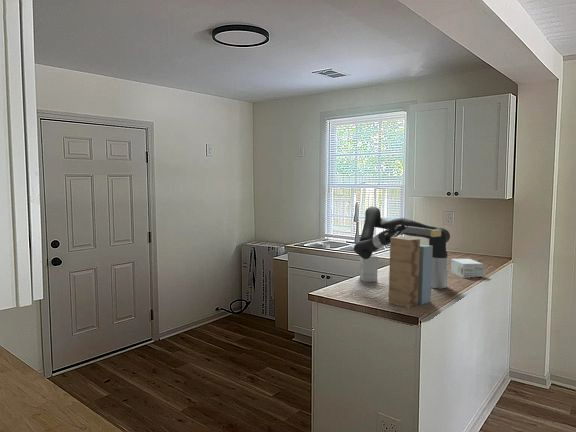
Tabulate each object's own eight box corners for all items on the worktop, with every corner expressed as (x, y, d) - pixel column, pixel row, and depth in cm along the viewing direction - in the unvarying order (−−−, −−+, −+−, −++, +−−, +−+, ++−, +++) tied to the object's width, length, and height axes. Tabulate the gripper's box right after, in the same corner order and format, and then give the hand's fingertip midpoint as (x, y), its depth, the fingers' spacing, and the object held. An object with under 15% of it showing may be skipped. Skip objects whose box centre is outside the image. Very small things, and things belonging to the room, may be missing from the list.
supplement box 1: (374, 278, 265) (374, 254, 264) (377, 281, 256) (378, 256, 255) (359, 278, 264) (359, 254, 263) (362, 281, 255) (362, 256, 254)
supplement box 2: (450, 272, 285) (450, 258, 284) (469, 272, 286) (470, 258, 285) (462, 278, 268) (463, 263, 267) (483, 278, 269) (483, 263, 268)
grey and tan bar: (401, 230, 226) (401, 224, 225) (441, 236, 207) (441, 229, 206) (393, 231, 222) (393, 225, 222) (433, 237, 203) (433, 230, 203)
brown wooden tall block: (397, 299, 217) (399, 236, 214) (417, 305, 207) (420, 239, 205) (388, 302, 213) (390, 237, 210) (408, 307, 203) (410, 240, 201)
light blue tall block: (410, 296, 223) (412, 242, 221) (430, 302, 213) (432, 245, 211) (401, 298, 219) (403, 243, 216) (421, 304, 209) (423, 247, 207)
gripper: (394, 244, 235) (418, 232, 222) (376, 246, 226) (400, 233, 214) (389, 232, 237) (412, 218, 224) (371, 233, 229) (394, 220, 216)
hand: (406, 226), depth 219 cm, fingers closed on grey and tan bar, 3 cm apart
